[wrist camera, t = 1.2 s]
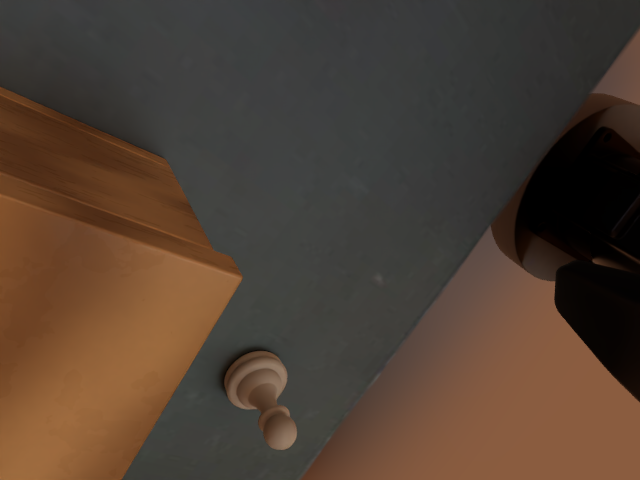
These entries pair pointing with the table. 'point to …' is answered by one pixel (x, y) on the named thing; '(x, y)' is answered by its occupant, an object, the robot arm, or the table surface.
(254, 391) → the pawn
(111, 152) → the shelf
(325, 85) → the table surface
